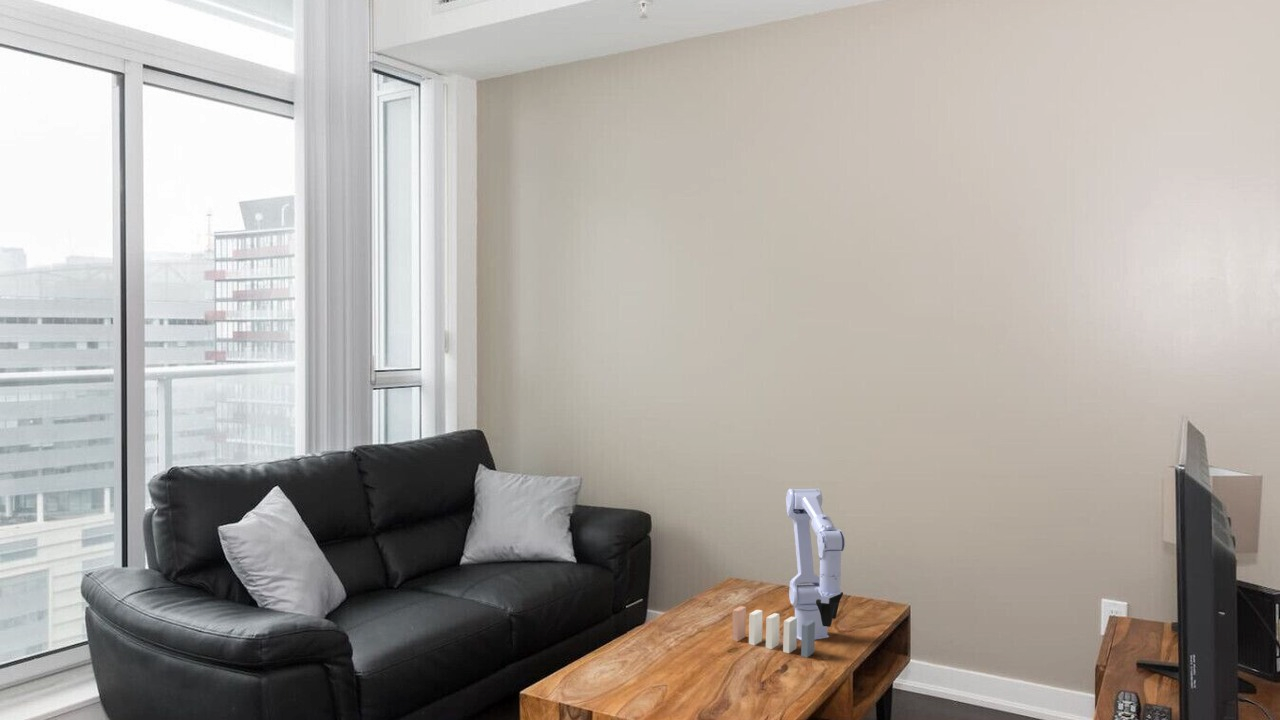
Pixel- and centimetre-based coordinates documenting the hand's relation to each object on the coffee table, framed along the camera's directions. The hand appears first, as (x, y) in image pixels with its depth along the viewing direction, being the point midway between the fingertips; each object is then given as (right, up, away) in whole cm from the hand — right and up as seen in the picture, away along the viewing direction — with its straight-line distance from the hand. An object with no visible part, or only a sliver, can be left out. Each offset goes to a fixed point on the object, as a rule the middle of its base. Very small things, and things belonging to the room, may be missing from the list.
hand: (829, 622), depth 259 cm
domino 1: (-23, -10, +17) cm, 30 cm away
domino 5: (-5, -10, +4) cm, 12 cm away
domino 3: (-14, -10, +10) cm, 20 cm away
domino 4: (-10, -10, +7) cm, 16 cm away
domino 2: (-19, -10, +13) cm, 25 cm away
